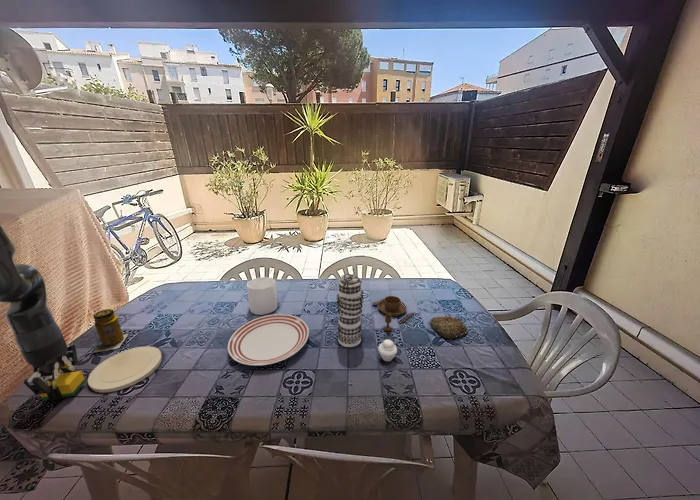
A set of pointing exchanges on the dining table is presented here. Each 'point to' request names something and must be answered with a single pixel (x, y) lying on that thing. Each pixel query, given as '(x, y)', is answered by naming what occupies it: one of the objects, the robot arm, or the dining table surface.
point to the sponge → (68, 384)
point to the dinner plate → (268, 339)
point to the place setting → (391, 309)
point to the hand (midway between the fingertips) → (64, 390)
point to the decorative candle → (349, 310)
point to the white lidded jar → (387, 350)
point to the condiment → (108, 330)
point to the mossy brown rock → (448, 326)
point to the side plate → (124, 369)
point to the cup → (262, 295)
